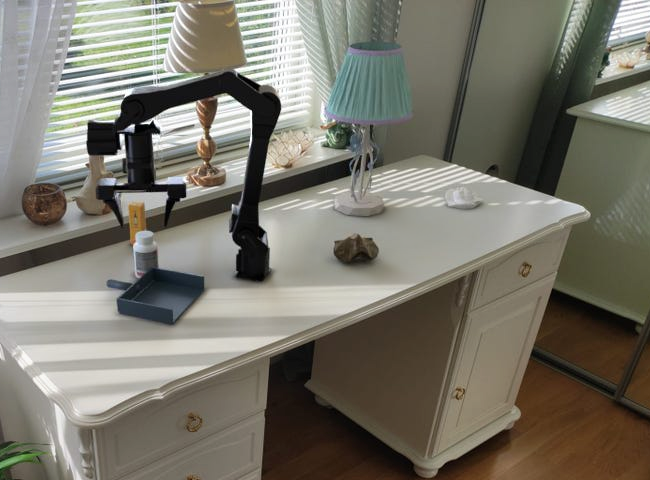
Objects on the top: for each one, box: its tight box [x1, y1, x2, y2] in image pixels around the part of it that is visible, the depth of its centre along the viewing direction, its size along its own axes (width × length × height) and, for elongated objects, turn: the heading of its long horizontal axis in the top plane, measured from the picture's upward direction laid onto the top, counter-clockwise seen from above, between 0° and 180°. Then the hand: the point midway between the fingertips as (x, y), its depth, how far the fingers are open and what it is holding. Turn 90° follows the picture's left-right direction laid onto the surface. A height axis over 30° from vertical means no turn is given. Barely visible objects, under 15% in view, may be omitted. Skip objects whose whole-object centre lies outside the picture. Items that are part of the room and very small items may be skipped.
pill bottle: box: [132, 230, 160, 279], centre depth 158 cm, size 5×5×10 cm
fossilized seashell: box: [332, 232, 380, 263], centre depth 163 cm, size 8×7×10 cm
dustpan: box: [106, 267, 205, 326], centre depth 150 cm, size 19×16×3 cm
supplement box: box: [127, 201, 147, 246], centre depth 173 cm, size 3×3×10 cm
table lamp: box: [324, 41, 415, 217], centre depth 180 cm, size 22×22×40 cm
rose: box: [444, 186, 484, 210], centre depth 191 cm, size 10×4×10 cm
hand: (144, 226), depth 154 cm, fingers open, 9 cm apart
